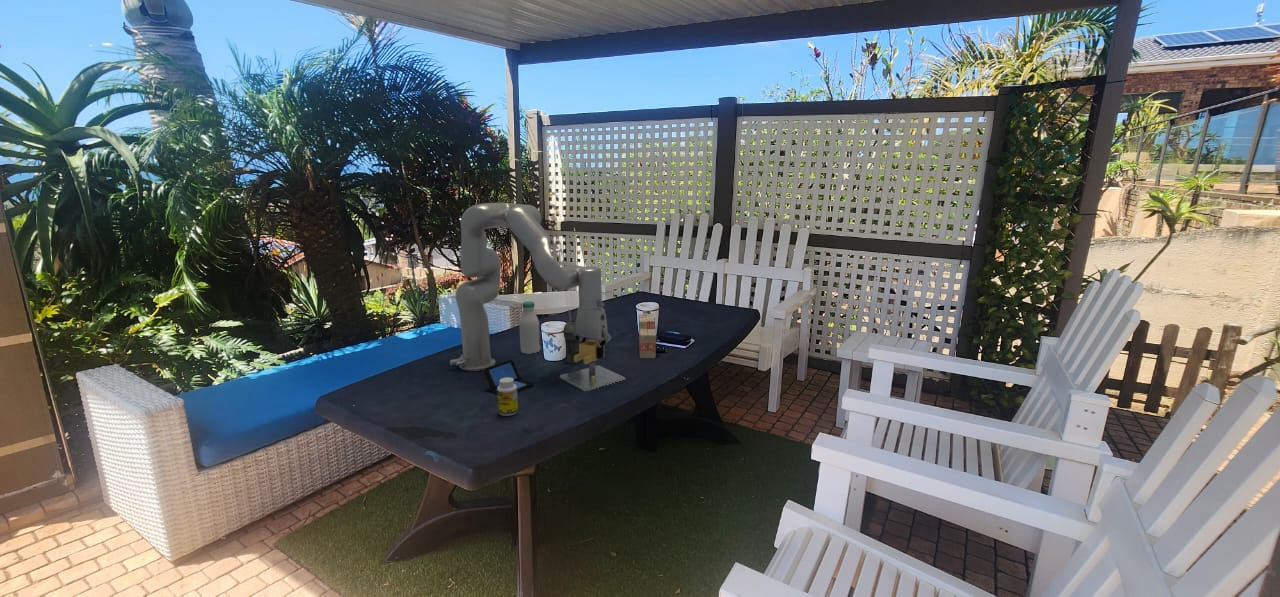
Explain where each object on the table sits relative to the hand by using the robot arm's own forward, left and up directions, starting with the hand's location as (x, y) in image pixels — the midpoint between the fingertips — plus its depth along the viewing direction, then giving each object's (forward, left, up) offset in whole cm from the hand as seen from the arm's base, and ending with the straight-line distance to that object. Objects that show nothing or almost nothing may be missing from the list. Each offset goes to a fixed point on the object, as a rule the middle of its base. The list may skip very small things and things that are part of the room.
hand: (591, 355), depth 179 cm
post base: (0, 0, -8) cm, 8 cm away
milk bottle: (-2, +41, -9) cm, 42 cm away
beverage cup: (+5, +20, -9) cm, 22 cm away
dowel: (-2, -4, -8) cm, 10 cm away
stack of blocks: (+35, +13, -9) cm, 39 cm away
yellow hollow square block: (-2, -1, -1) cm, 2 cm away
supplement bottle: (-34, -7, -9) cm, 36 cm away
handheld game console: (-25, +11, -9) cm, 29 cm away
